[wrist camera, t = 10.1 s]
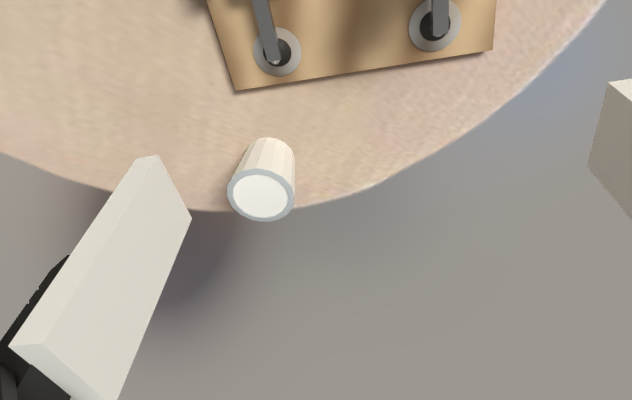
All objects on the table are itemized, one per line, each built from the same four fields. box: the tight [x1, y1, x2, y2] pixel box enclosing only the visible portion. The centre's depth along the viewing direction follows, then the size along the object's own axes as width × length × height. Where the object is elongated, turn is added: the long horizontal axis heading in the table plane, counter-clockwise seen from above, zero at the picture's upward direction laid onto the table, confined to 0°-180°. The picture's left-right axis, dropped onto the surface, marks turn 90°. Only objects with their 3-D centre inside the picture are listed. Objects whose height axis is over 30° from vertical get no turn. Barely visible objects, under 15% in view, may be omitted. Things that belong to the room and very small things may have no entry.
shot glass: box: [227, 137, 295, 222], centre depth 44 cm, size 7×7×7 cm
